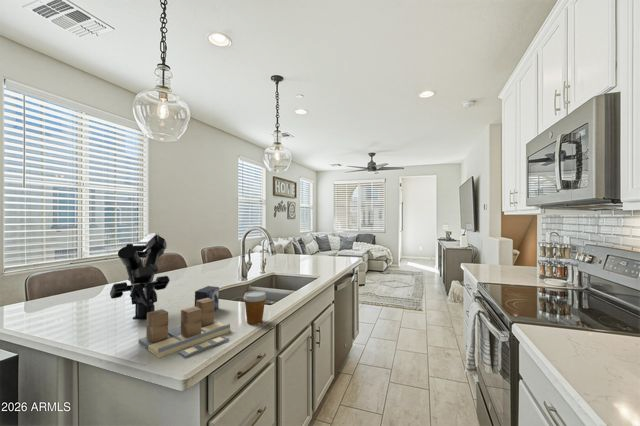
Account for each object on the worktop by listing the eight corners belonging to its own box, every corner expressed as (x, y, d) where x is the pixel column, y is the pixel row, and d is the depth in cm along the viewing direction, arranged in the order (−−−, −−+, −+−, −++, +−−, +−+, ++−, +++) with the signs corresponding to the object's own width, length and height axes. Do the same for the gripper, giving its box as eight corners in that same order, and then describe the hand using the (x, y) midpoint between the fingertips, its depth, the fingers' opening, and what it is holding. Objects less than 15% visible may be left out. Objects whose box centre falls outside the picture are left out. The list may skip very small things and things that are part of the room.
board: (138, 343, 98) (138, 335, 98) (207, 321, 119) (207, 315, 119) (159, 357, 88) (159, 349, 88) (230, 331, 109) (230, 324, 109)
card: (178, 353, 91) (178, 351, 91) (222, 337, 104) (222, 335, 104) (185, 358, 88) (185, 355, 88) (229, 340, 101) (229, 338, 101)
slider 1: (146, 338, 98) (146, 312, 98) (161, 333, 102) (161, 309, 102) (152, 342, 95) (153, 315, 95) (167, 337, 99) (168, 312, 99)
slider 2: (195, 323, 112) (196, 300, 112) (207, 319, 116) (207, 297, 116) (202, 326, 109) (202, 303, 109) (214, 322, 113) (214, 300, 113)
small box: (206, 315, 126) (206, 292, 126) (193, 314, 127) (193, 291, 127) (219, 308, 136) (219, 286, 136) (207, 307, 138) (207, 285, 138)
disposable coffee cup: (245, 318, 123) (245, 290, 123) (267, 317, 124) (267, 290, 124) (241, 326, 114) (241, 297, 114) (264, 326, 114) (265, 296, 115)
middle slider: (180, 334, 101) (181, 309, 101) (194, 330, 105) (194, 306, 105) (187, 338, 98) (188, 312, 98) (201, 333, 102) (201, 309, 102)
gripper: (113, 261, 99) (124, 298, 92) (168, 255, 114) (180, 287, 107) (105, 280, 104) (115, 316, 97) (159, 272, 119) (170, 303, 112)
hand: (147, 305), depth 103 cm, fingers closed
